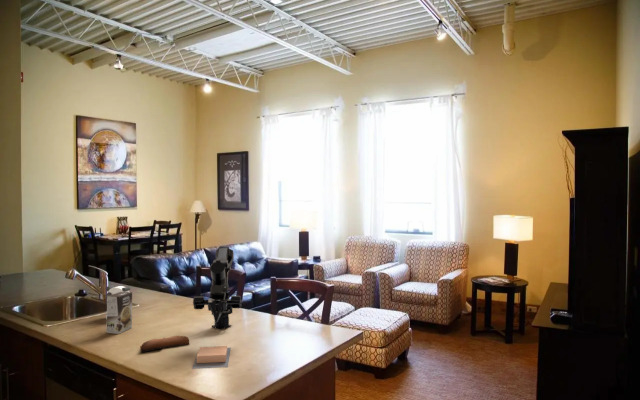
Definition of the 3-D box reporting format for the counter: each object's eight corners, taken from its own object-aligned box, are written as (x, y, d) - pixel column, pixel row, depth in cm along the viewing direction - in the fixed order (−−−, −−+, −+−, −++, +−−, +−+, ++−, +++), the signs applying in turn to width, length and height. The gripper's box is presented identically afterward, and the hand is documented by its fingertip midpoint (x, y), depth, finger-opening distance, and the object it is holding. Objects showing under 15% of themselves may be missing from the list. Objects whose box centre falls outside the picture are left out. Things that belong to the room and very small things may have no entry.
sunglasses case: (185, 339, 175) (187, 327, 172) (188, 352, 170) (190, 341, 167) (138, 346, 167) (139, 334, 164) (140, 360, 162) (141, 348, 158)
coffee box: (119, 334, 181) (119, 296, 181) (105, 333, 182) (106, 295, 182) (132, 327, 190) (132, 292, 190) (119, 326, 191) (120, 291, 191)
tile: (200, 347, 158) (196, 356, 149) (227, 345, 159) (225, 354, 150) (199, 354, 158) (196, 363, 149) (227, 353, 159) (225, 362, 150)
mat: (199, 350, 163) (199, 348, 163) (230, 349, 165) (230, 347, 165) (192, 370, 144) (192, 368, 144) (227, 368, 146) (227, 367, 146)
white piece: (99, 318, 203) (99, 287, 203) (117, 312, 214) (117, 283, 214) (119, 321, 199) (119, 289, 199) (136, 315, 210) (137, 285, 210)
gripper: (193, 276, 170) (189, 312, 159) (241, 276, 172) (239, 310, 162) (196, 291, 178) (192, 326, 167) (241, 290, 180) (240, 324, 170)
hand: (216, 321), depth 166 cm, fingers closed
